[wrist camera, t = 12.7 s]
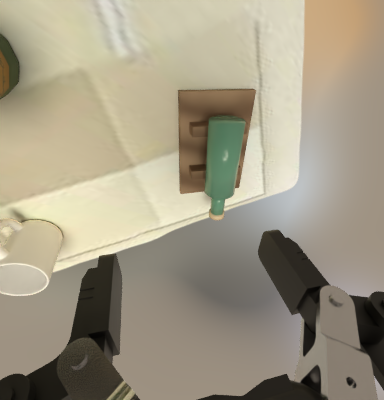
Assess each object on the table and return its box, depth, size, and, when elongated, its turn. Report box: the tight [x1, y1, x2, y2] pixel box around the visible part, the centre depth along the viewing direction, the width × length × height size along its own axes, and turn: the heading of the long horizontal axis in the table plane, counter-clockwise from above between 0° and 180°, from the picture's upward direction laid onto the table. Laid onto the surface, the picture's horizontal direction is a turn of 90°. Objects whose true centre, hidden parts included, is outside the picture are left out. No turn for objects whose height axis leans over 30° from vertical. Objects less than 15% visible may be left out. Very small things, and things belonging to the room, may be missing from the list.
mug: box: [0, 218, 63, 296], centre depth 37 cm, size 12×8×10 cm
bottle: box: [204, 115, 246, 220], centre depth 37 cm, size 18×5×5 cm, turn 179°
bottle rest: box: [178, 89, 256, 194], centre depth 38 cm, size 18×12×4 cm, turn 179°
